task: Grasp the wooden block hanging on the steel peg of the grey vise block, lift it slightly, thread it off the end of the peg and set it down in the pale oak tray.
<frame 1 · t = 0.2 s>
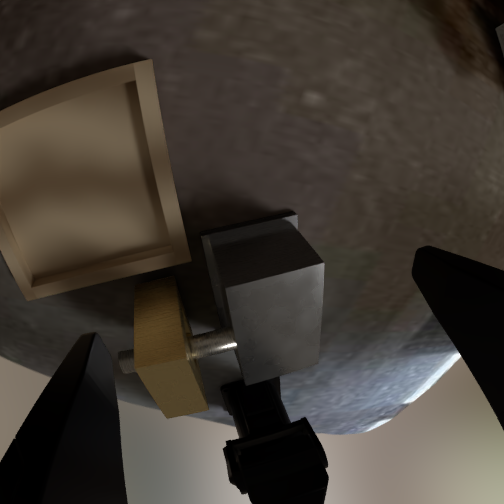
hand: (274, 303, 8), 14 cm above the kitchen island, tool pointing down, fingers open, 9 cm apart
tray: (74, 186, 18), on the kitchen island
wooden block: (165, 310, 24), point 1 cm above the kitchen island, touching vise block
vise block: (255, 281, 26), on the kitchen island
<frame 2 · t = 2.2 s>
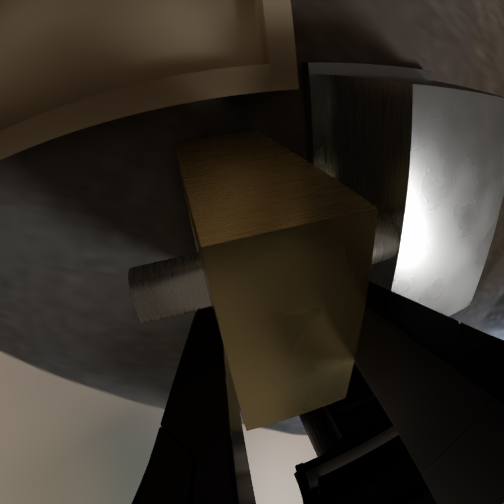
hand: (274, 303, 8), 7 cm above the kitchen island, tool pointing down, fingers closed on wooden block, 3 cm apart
wooden block: (225, 207, 13), point 1 cm above the kitchen island, touching gripper, vise block
vise block: (371, 174, 15), on the kitchen island
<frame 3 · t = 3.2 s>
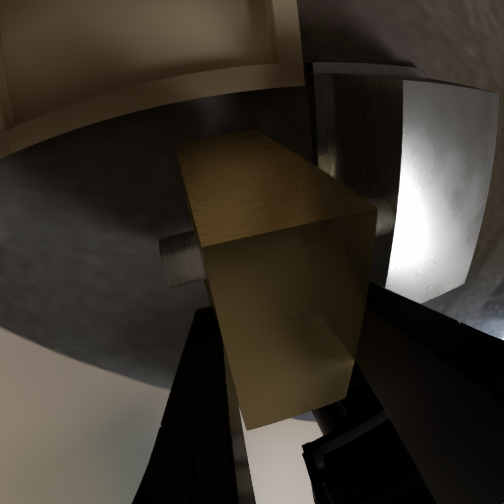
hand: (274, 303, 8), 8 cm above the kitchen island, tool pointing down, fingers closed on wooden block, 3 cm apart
wooden block: (225, 207, 13), point 2 cm above the kitchen island, touching gripper
vise block: (370, 163, 16), on the kitchen island
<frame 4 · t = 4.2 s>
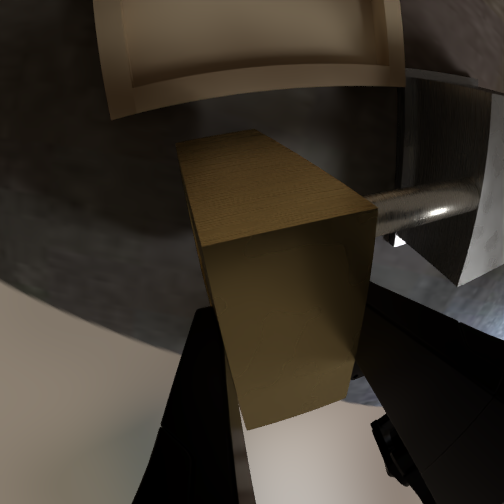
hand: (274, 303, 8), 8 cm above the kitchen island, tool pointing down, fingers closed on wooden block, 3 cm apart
wooden block: (225, 207, 13), point 2 cm above the kitchen island, touching gripper
vise block: (436, 156, 17), on the kitchen island
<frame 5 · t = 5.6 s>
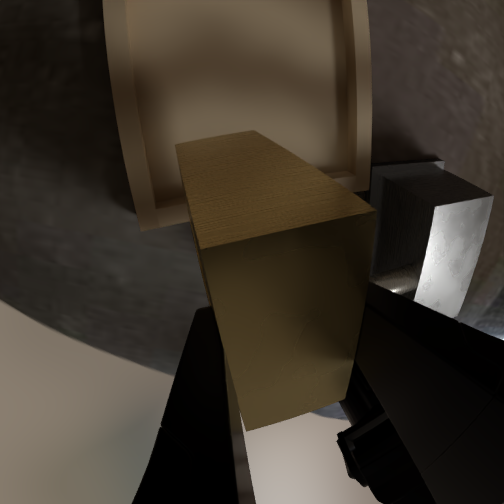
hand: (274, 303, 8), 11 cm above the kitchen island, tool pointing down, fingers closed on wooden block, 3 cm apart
tray: (245, 81, 15), on the kitchen island
wooden block: (225, 208, 13), point 5 cm above the kitchen island, touching gripper
vise block: (398, 230, 23), on the kitchen island
when the fingers open (8 cm above the kitchen island, at t = 6.6 s): wooden block stays where it is, resting on tray.
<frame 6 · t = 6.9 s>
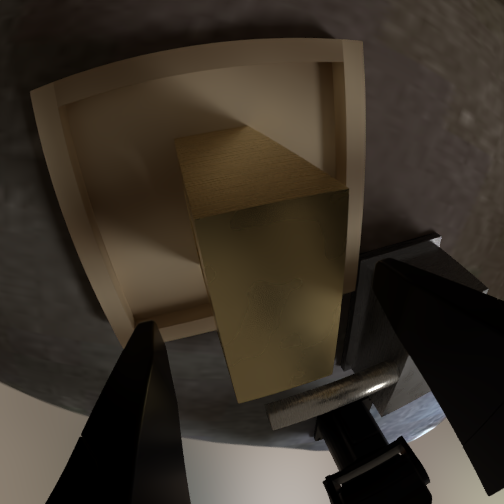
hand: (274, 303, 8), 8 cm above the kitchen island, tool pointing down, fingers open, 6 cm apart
tray: (217, 192, 14), on the kitchen island
wooden block: (221, 199, 14), point 1 cm above the kitchen island, touching tray
vise block: (387, 305, 22), on the kitchen island
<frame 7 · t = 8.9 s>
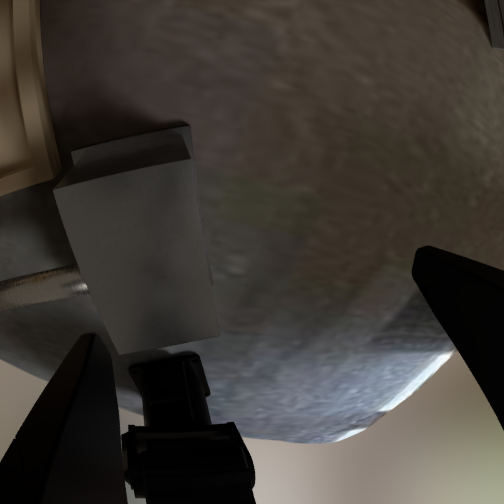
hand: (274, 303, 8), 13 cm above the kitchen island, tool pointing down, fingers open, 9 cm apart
vise block: (146, 220, 19), on the kitchen island
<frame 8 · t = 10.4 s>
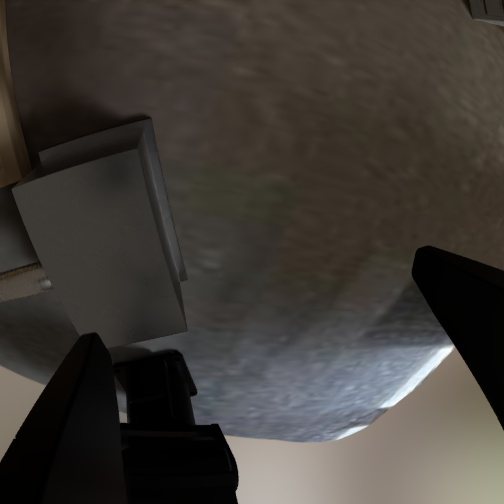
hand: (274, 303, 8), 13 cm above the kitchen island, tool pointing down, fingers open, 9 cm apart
vise block: (115, 216, 19), on the kitchen island
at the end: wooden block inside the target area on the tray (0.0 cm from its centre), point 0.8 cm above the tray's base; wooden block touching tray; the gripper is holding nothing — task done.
